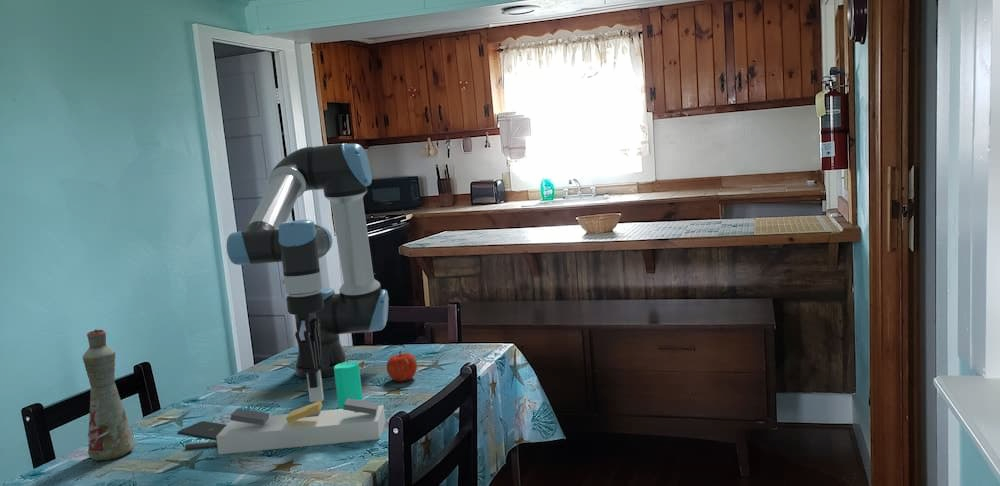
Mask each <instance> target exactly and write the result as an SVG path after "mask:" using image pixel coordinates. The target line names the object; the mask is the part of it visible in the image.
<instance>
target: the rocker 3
mask: <svg viewBox="0 0 1000 486" xmlns="http://www.w3.org/2000/svg"><path fill="white" fill-rule="evenodd" d="M379 405H380V402H375V401H374V402H373V401H368V400H363V401H362V400H356V399H350V398H347V400H346V402H345V403H344V408H343V410H349V411H355V412H361V413H367V414H374V415H376V413H377V410H378V406H379Z"/></svg>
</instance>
